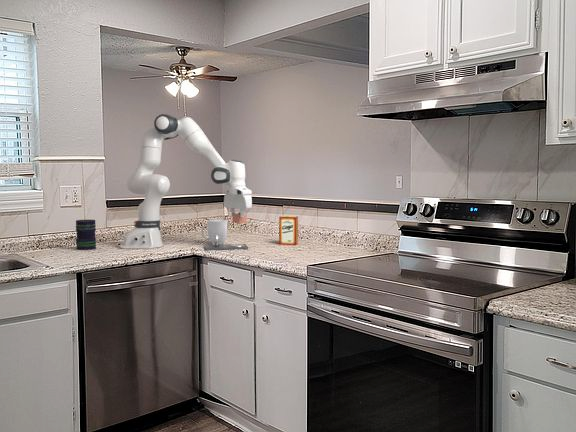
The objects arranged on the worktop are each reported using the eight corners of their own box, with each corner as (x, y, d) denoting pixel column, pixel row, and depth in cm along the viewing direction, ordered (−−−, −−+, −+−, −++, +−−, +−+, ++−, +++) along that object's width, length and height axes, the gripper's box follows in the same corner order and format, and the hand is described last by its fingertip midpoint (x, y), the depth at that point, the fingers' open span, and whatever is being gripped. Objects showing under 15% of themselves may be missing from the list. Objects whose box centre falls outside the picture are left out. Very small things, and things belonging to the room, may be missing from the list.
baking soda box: (298, 243, 318) (298, 215, 317) (296, 245, 312) (296, 216, 311) (281, 243, 320) (281, 215, 319) (279, 244, 314) (279, 216, 312)
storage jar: (89, 250, 289) (89, 221, 288) (72, 249, 291) (71, 221, 290) (99, 247, 299) (99, 219, 298) (83, 247, 301) (82, 219, 300)
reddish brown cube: (232, 221, 301) (232, 212, 300) (239, 220, 305) (240, 211, 304) (239, 223, 298) (239, 214, 297) (246, 222, 301) (246, 213, 300)
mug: (198, 244, 313) (198, 221, 311) (204, 242, 323) (204, 219, 322) (224, 245, 310) (224, 221, 309) (229, 242, 321) (229, 219, 320)
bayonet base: (205, 250, 291) (205, 236, 290) (204, 247, 303) (204, 233, 302) (248, 249, 295) (248, 235, 295) (245, 246, 307) (245, 233, 307)
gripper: (220, 190, 304) (221, 215, 305) (244, 191, 289) (244, 218, 290) (230, 189, 308) (230, 215, 309) (253, 191, 293) (254, 217, 294)
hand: (237, 216), depth 299 cm, fingers closed on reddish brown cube, 5 cm apart
